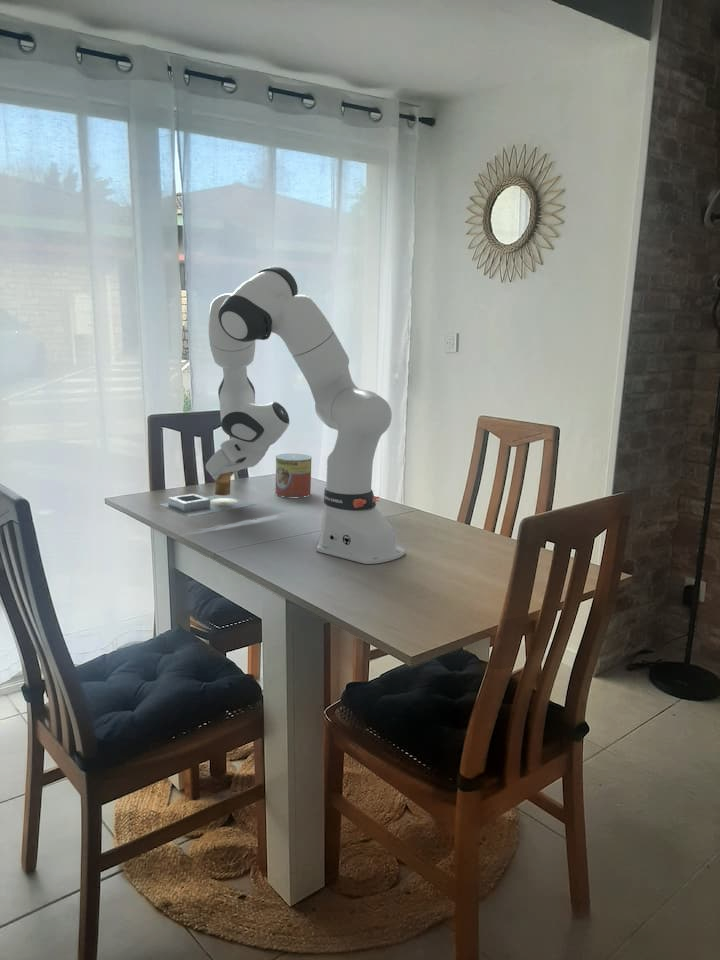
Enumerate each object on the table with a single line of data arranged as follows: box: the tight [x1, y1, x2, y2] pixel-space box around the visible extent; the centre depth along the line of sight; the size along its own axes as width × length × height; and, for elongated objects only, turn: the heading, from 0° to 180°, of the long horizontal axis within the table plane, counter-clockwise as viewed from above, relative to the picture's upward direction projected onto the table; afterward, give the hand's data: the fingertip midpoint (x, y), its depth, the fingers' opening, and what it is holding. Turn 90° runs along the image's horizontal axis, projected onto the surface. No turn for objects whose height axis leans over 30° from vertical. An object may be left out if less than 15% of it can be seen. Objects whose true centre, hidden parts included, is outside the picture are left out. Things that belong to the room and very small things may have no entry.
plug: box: [214, 472, 232, 496], centre depth 210 cm, size 4×4×9 cm
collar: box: [167, 493, 210, 512], centre depth 204 cm, size 8×8×2 cm
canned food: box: [274, 453, 313, 498], centre depth 229 cm, size 11×11×12 cm
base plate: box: [159, 494, 256, 518], centre depth 208 cm, size 16×22×1 cm
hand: (221, 476), depth 210 cm, fingers closed on plug, 4 cm apart
